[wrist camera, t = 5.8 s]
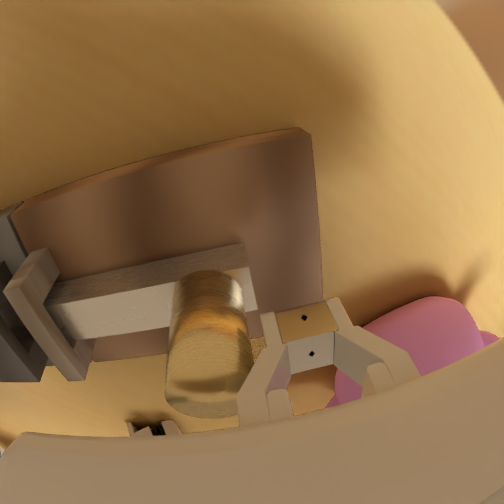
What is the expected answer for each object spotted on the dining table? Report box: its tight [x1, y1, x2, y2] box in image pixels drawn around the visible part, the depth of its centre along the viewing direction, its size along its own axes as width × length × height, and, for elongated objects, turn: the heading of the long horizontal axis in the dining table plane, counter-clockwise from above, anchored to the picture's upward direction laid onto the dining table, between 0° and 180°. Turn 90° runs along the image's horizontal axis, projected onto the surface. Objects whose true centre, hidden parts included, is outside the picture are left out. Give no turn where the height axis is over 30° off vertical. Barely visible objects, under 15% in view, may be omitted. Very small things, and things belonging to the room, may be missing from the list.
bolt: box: [43, 242, 258, 418], centre depth 12 cm, size 12×3×7 cm, turn 99°
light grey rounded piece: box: [127, 420, 182, 437], centre depth 27 cm, size 17×5×10 cm, turn 6°
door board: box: [0, 128, 323, 382], centre depth 15 cm, size 22×11×5 cm, turn 99°
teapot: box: [325, 296, 500, 409], centre depth 20 cm, size 13×20×11 cm
